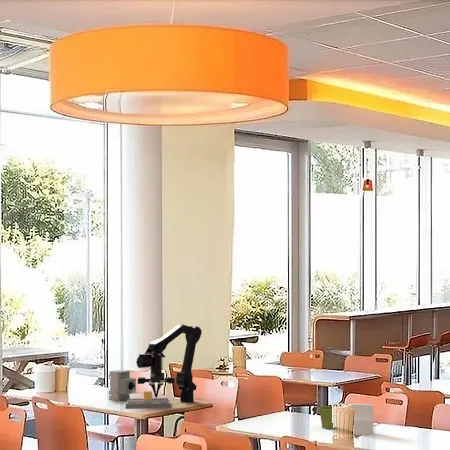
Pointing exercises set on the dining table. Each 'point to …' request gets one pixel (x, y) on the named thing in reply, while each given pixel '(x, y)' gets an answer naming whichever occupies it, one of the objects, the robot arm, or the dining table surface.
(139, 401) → the panel
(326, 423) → the plant pot
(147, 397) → the toggle
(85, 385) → the dining table surface
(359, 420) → the grey upright block
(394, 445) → the dining table surface
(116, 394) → the circuit breaker
